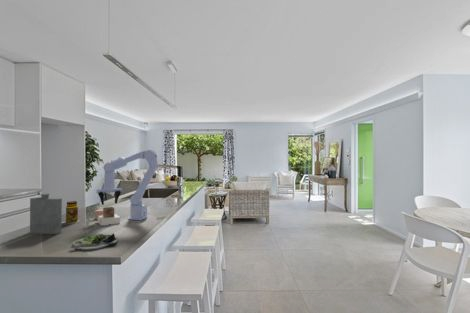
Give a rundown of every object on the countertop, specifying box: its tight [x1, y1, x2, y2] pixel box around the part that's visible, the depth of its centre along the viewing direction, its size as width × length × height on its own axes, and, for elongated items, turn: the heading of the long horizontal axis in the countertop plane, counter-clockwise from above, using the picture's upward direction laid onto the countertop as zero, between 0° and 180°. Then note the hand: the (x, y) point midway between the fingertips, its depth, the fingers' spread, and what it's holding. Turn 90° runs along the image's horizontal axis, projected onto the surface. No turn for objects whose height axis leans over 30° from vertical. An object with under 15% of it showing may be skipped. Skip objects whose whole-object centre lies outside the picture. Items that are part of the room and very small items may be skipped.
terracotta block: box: [94, 208, 103, 220], centre depth 178 cm, size 5×5×5 cm
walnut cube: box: [102, 206, 115, 218], centre depth 167 cm, size 5×5×5 cm
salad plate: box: [69, 233, 119, 251], centre depth 127 cm, size 19×18×5 cm
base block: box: [97, 213, 121, 226], centre depth 166 cm, size 10×10×4 cm
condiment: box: [62, 200, 82, 224], centre depth 167 cm, size 7×8×12 cm
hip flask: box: [29, 193, 63, 235], centre depth 144 cm, size 16×4×20 cm, turn 87°
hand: (109, 203), depth 175 cm, fingers open, 7 cm apart
